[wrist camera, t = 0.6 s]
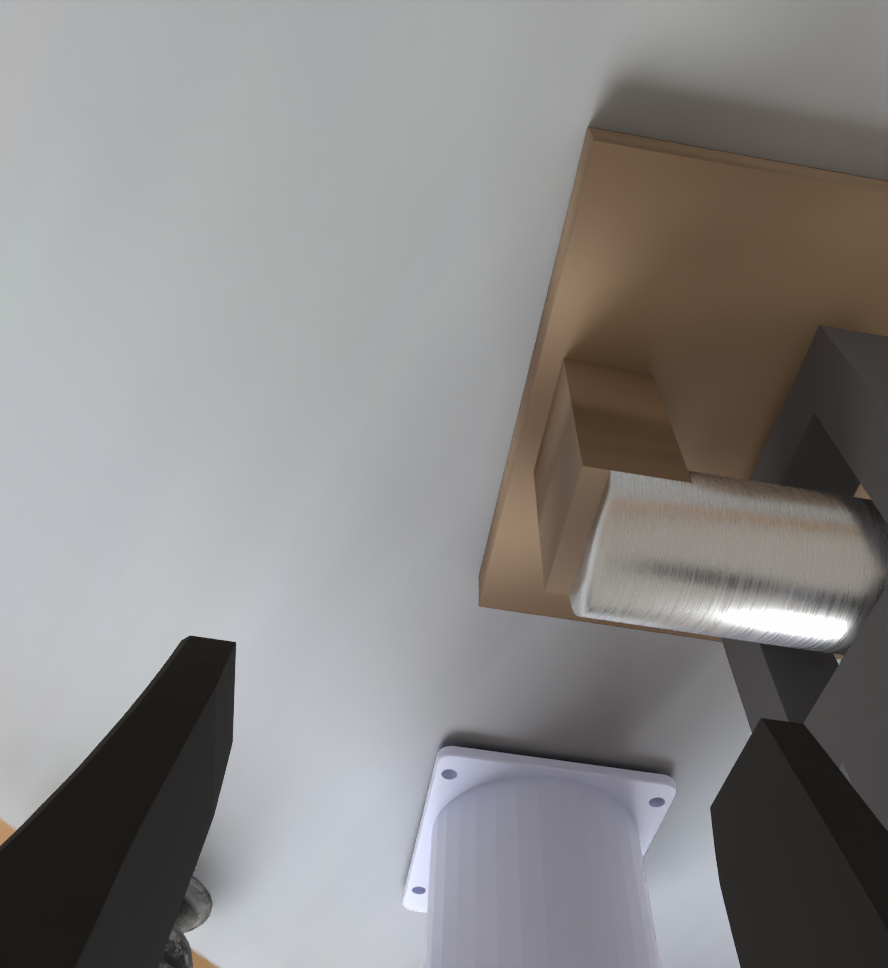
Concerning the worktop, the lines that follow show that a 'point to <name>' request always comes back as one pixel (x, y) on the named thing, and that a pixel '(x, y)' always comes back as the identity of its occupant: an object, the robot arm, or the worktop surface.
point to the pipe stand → (690, 402)
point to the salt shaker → (186, 926)
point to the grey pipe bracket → (884, 636)
